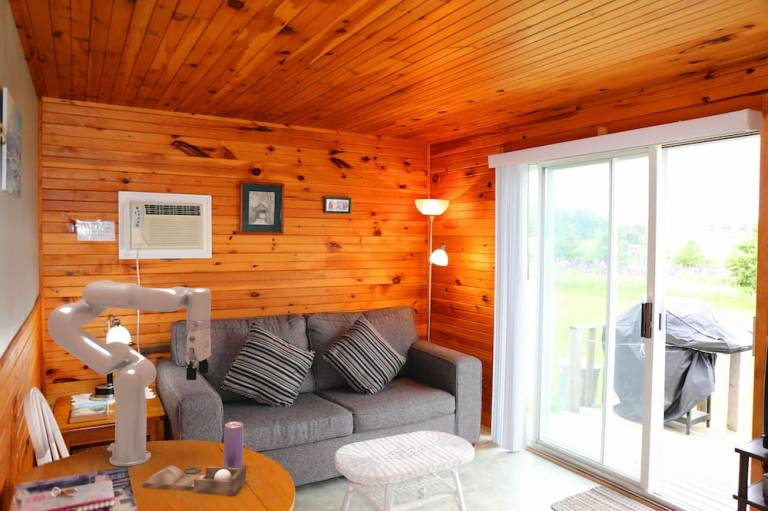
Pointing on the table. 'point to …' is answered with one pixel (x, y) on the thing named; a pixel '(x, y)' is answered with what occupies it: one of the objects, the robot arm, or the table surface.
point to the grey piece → (192, 469)
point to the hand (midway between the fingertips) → (197, 376)
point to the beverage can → (233, 445)
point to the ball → (223, 475)
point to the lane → (198, 480)
